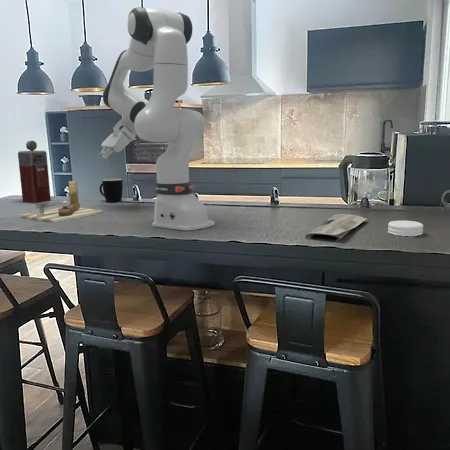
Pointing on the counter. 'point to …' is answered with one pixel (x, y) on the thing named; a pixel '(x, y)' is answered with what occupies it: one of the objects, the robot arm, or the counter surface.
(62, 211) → the tan l-shaped piece
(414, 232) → the white round disc
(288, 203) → the counter surface
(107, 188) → the mug
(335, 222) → the newspaper
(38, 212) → the keeper
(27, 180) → the toy vending machine
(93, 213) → the pivot board
